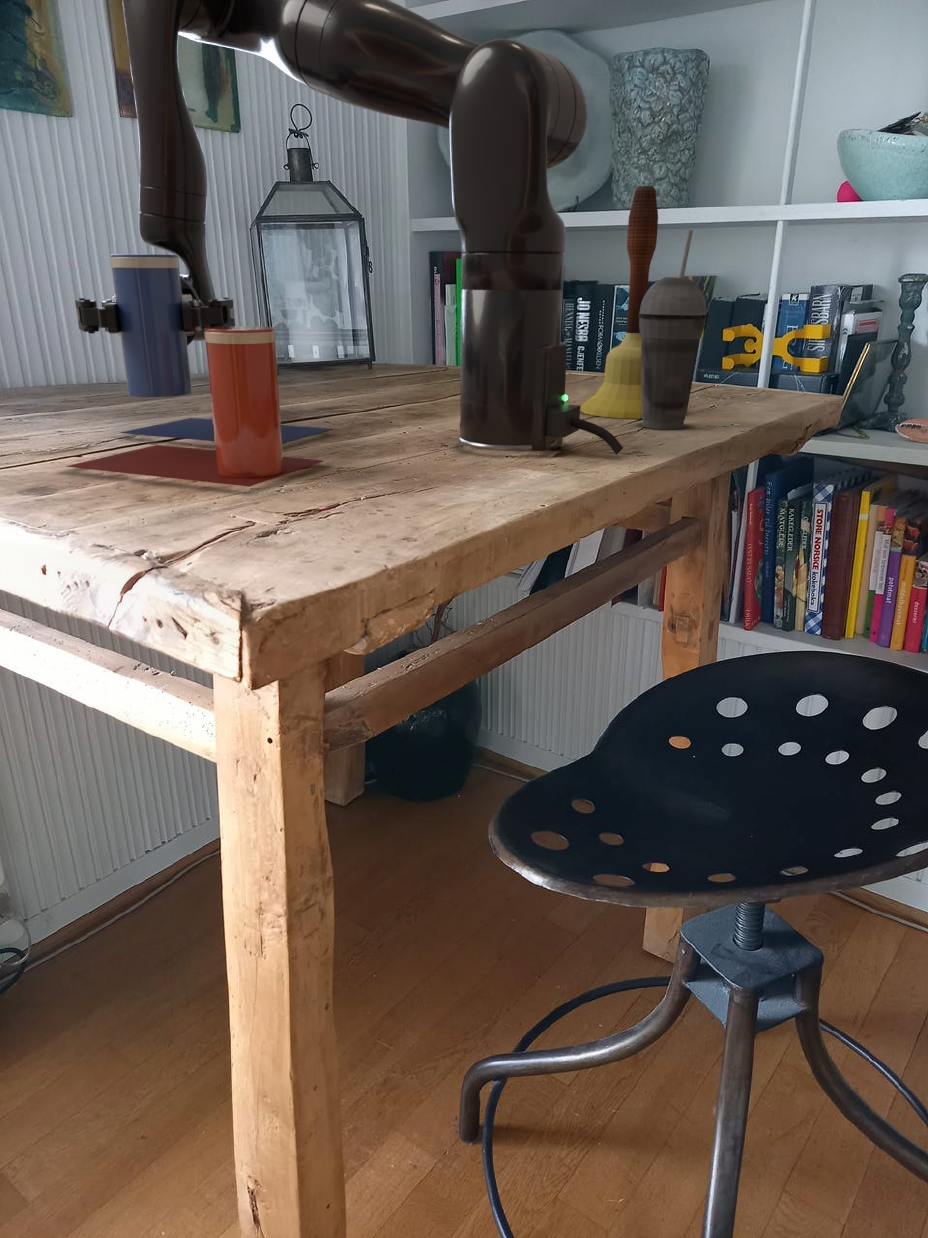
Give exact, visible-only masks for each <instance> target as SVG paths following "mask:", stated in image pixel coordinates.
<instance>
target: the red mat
mask: <svg viewBox="0 0 928 1238" xmlns="http://www.w3.org/2000/svg"><path fill="white" fill-rule="evenodd" d="M323 462H325V460H324V459H323V460H322V459H312V458H301V457H292V456H291V457H289V456H283V467H284V471H283V472H282V473H280V474H277V475H273V476H267V477H259V478H232V477H225V476H222V475H219V474H218V472H217V462H216V450H215V449H205V448H204V449H203V448H196V447H195V448H194V447H185V446H184V447H183V446H174V445H173V446H172V445H161V444H156V445H155V444H154V445H150V446H146V447H142V448H138V449H133V450H130V451H124V452H120V453H116V454H113V455H106V456H103V457H100V458H95V459H90V460H86V461H82V462H77V463H74V464H70V465H69V464H68V465H66V466H65V467H66V468H76V469H83V470H93V471H102V472H113V473H120V474H130V475H138V476H149V477H159V478H166V479H174V480H175V479H176V480H186V481H195V482H202V483H203V482H204V483H212V484H222V485H230V486H231V485H232V486H241V487H252V486H255V485H258V484H261V483H263V482H267V481H270V480H273V479H276V478H279V477H282V476H284V475H288V474H291V473H294V472H296V471H300V470H302V469H307V468H308V467H311V466H314V465H318V464H320V463H323Z"/></svg>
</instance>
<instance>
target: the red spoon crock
mask: <svg viewBox="0 0 928 1238" xmlns="http://www.w3.org/2000/svg"><path fill="white" fill-rule="evenodd" d="M204 337H205V340H204V343H205V351H206V361H207V371H208V372H207V373H208V384H209V395H210V404H211V416H212V417H211V418H212V420H213V428H214V439H215V441H214V450H216V462H217V472H218V474H219V475H222V476H225V477H232V478H259V477H267V476H273V475H277V474H280V473H282V472H283V471H284V467H283V457H284V453H283V452H284V451H283V444H282V436H281V425H282V421H281V409H280V408H281V407H280V394H279V393H280V392H279V390H280V389H279V377H278V376H279V375H278V361H277V345H276V342H277V336H276V329H275V327H272V326H258V325H257V326H255V325H254V326H253V325H250V326H249V325H248V326H247V325H245V326H244V325H242V326H240V325H239V326H238V325H237V326H236V325H235V326H227V327H209V328H205V331H204Z"/></svg>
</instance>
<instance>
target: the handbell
mask: <svg viewBox="0 0 928 1238" xmlns="http://www.w3.org/2000/svg"><path fill="white" fill-rule="evenodd" d="M634 190H635V191H634V194H633V198H632V203H631V207H630V210H629V214H628V223H627V236H626V249H627V254H628V260H629V272H630V273H629V287H628V300H627V317H626V318H627V319H626V331H625V334H624V338H623V340H622V341H621V342H620V343H619V344H618V345H617V346H615V347H613V348H612V349H610V351H609V352H608V353H607V355H606V359H605V366H604V381H603V382H602V384H601V385H600V387H599V389H598V390H597V392H595V394H593V396H591V397H590V398H589V399H587V400H586V401H585V402H583V403H582V405H581V406H580V413H583V414H585V415H590V416H594V417H603V418H611V419H612V418H613V419H634V420H643V419H642V388H641V336H640V330H639V318H638V314H639V313H640V307H641V303H642V300H643V298H644V296H645V294H646V293H647V291H648V290H649V277H650V276H649V275H650V268H651V263H652V260H653V257H654V255H655V251H656V248H657V241H658V229H659V228H658V227H659V210H658V201H657V200H658V199H657V191H656V189H655V186H653V185H639V186H637V187H636V188H635V189H634Z"/></svg>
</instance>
